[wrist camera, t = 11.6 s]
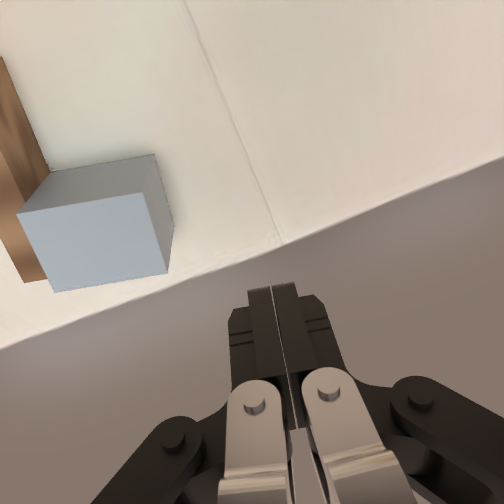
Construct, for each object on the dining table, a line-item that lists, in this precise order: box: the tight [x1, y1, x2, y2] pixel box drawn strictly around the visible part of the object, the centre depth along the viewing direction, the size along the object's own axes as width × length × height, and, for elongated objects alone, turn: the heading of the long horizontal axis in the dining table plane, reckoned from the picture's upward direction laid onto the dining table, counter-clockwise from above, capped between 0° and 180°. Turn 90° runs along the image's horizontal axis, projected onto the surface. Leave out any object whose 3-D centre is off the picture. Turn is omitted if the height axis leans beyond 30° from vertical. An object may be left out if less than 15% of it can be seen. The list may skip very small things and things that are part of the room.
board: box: [0, 57, 50, 283], centre depth 34 cm, size 16×3×6 cm, turn 9°
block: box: [16, 154, 174, 293], centre depth 36 cm, size 7×9×8 cm
